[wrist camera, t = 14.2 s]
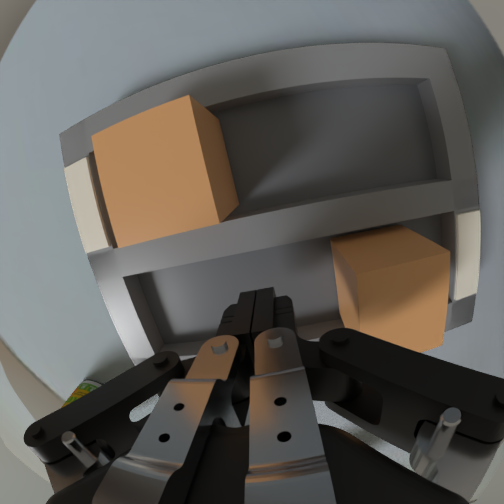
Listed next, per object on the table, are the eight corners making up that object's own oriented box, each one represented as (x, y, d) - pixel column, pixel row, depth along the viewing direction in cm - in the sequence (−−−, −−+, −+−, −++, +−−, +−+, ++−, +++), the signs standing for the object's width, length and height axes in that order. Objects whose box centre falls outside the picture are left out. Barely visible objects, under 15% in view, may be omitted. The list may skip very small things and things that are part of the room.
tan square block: (219, 119, 12) (188, 94, 8) (239, 204, 14) (220, 223, 9) (146, 143, 13) (91, 135, 8) (166, 222, 14) (118, 248, 9)
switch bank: (418, 64, 12) (446, 47, 9) (447, 298, 16) (473, 322, 13) (92, 136, 15) (57, 134, 12) (160, 352, 20) (142, 383, 16)
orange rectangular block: (399, 224, 13) (450, 251, 8) (403, 297, 14) (442, 344, 10) (329, 238, 14) (356, 273, 9) (339, 313, 15) (361, 369, 10)
